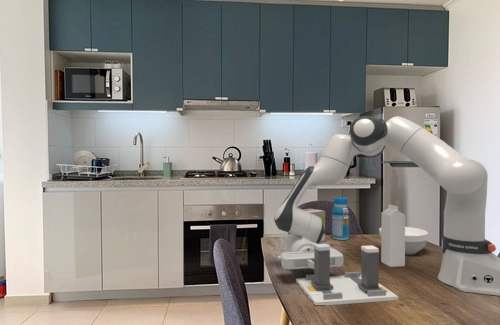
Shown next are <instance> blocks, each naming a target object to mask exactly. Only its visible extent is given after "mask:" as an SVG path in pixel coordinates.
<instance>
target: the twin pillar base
mask: <svg viewBox="0 0 500 325" xmlns="http://www.w3.org/2000/svg"><path fill="white" fill-rule="evenodd" d="M311 281H314V274H305V277H299V278H297V277H296V278H295V282H296V284H299V285H298V286H299V288H301V290H302V289H303V290H302V291H303V293H305V295H306V294H307V295H308V296H307V295H306V296H307V297H308V299H309V300H310V299H311V300H312V301H313V302H312V301H311V300H310V301H311V302H312V303H313V305H314V304H315V305H325V306H335V305H350V304H362V303H374V302H376V303H378V302H389V301H399V295H396V294H395V293H394V292H392V291H391V290H389V289H388V288H387V287H385V286H383V284H381V283H379V287H380V288H382V290H367V293H366V292H364V291H363V290H362V289H361V288H359V287H358V284H359V283H361V272H360V271H351V272H349V271H347V272H344V275H332V276H331V275H330V284H331V285H333V289H325V290H316V288H315V287H314V286H313V285H312V284H311ZM315 305H314V306H315Z"/></svg>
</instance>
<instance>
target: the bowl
mask: <svg viewBox="0 0 500 325" xmlns="http://www.w3.org/2000/svg"><path fill="white" fill-rule="evenodd" d="M378 232H379V237H380V239H381V227H380V228H378ZM428 237H429V233H428V231H427V230H424V229H421V228H417V227H413V226H412V227H411V226H410V227H409V226H405V254H406V255H405V256H407V255H408V256H409V255H416V254H417V253H418V252H420V251H421V250H423V248H424V247H425V246H426V245H427V241H428Z"/></svg>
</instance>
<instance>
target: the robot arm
mask: <svg viewBox="0 0 500 325" xmlns="http://www.w3.org/2000/svg"><path fill="white" fill-rule="evenodd" d="M386 146H388V147H390V148H392V149H394V150H396V151H398V153H400V154H402V155H403V156H405V157H406V158H407V159H408V160H409V161H411V162H412V163H414V164H415V165H417V167H419V168H420V169H421V170H423V171H424V172H425V173H426V174H427V175H428V176H429V177H430V178H431V179H433V181H434V182H436V183H437V184H438V185H440V186H441V188H443V189H444V190H445V191H446V198H445V205H444V208H443V234H442V235H441V236H442V237H441V252H442V258H441V265H440V270H439V273H438V275H437V279H438V280H439V281H440V282H442V283H444V284H446V285H448V286H452V287H453V288H455V289H457V290H459V291H462V292H465V293H474V294H481V295H483V294H484V295H492V296H498V297H500V257H499V256H498V255H496V254H495V253H494V252H495V251H496V250H497V246H496V245H495V244H493V243H492V242H491V241H490V240H488V239H486V211H487V210H486V208H487V195H488V179H489V178H488V177H489V175H488V171H487V169H486V167H485V166H484V164H482V163H480V162H479V161H477V160H475V159H468V158H466V156H463V154H461V153H460V152H458V151H457V150H456V149H454V148H453V147H452V146H451V145H449V144H448V143H446V142H445V141H444V140H442V139H441V138H439V137H438V136H437V135H434V134H433V133H431V132H430V131H429V130H427V129H425V127H423V126H421V125H419V124H417V123H415V122H413V121H412V120H410V119H407V118H405V117H403V116H393V117H391V118H389V119H387V121H385V120H384V119H383V118H376V117H372V116H368V115H367V116H366V115H365V116H360V117H358V118H356V119H355V120H353V122H352V123H351V125H350V128H349V134H344V133H338V134H337V133H336V134H334V135H332V137H331V138H330V139H329V141H328V142H327V144H326V146H325V147H324V149H323V151H322V153H321V155H320V158H319V159H318V161H317V162H316V163H315V164H314V165H313V166H309V165H308V166H307V168H305V170H303V172H302V174H301V175H300V176H299V178H298V179H297V181H296V183H295V184H294V186H292V187H293V188H292V189H291V190H290V192H289V193H288V195H287V197H286V198H285V199H284V200H283V202H282V203H281V205H280V206H279V207H278V208H277V210H276V212H275V214H274V217H273V222H274V224H275V226H276V227H277V229H278V230H279V231H282V232H285V233H291V234H288V235H287V236H285V238H284V241H283V242H284V243H283V247H284V249H285V251H284V252H281V254H280V255H278V256H277V260H278V261H280V263H281V264H280V265H281V267H282V268H283V269H284V270H298V269H301V270H302V269H306V270H307V269H313V270H314V244H321V243H320V241H321V239H322V237H323V234H324V224H323V221H322V219H321V218H320V217H318V216H316V215H314V214H311V213H309V212H306V211H304V210H303V209H302V208H300V207H299V206H298V204H299V202H300V201H301V199H302V198H303V196H304V195H305V193H306V192H307V190H308V188H309V187H311V186H313V185H327V186H328V185H329V186H331V185H335V184H338V183H340V182H341V181H343V180H344V178H345V177H346V175H347V173H348V170H349V168H350V166H351V163H352V160H353V159H354V158H355V157H356V158H368V159H370V158H371V159H372V158H376V157H379V156H380V155H381V154H382V153H383V152H384V150H385V148H386ZM321 242H322V241H321ZM326 244H327V245H328V246H330V268H331V267H333V268H334V267H342V266H344V262H345V261H344V255H343V253H342V252H340V251H339V250H337V249H335V248H333V247H331V244H329V243H326Z"/></svg>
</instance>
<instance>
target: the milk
mask: <svg viewBox="0 0 500 325" xmlns="http://www.w3.org/2000/svg"><path fill="white" fill-rule="evenodd" d="M380 216H381V217H380V218H381V223H380V224H381V226H380V228H381V238H380V240H381V241H380V242H381V243H380V246H381V249H380V252H381V256H380V257H381V258H380V259H381V260H380V261H381V263H382V264H384V265H386V266H387V267H389V268H393V267H395V268H396V267H405V266H406V255H405V227H406V214H405V213H403V212H401V211H400V210H399V206H398V205H393V204H388V208H386V209H385V210H383V211H382V212H381V214H380Z"/></svg>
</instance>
